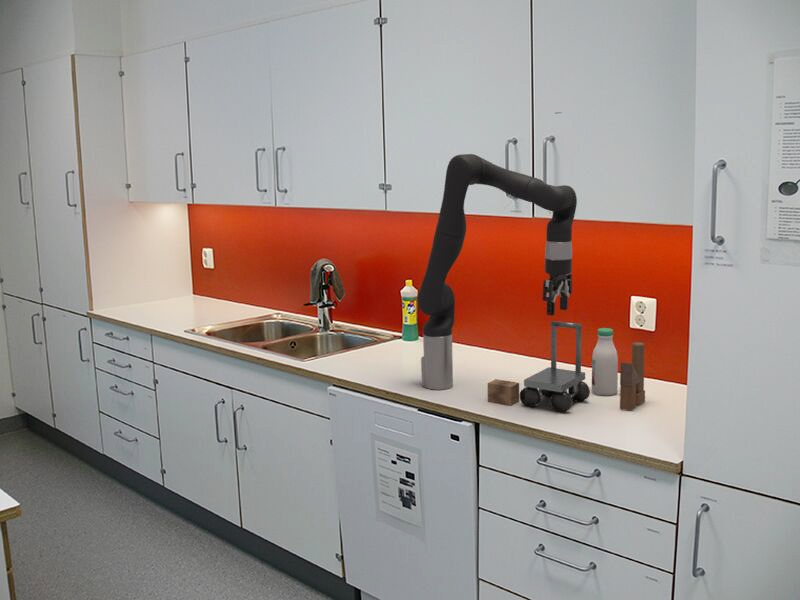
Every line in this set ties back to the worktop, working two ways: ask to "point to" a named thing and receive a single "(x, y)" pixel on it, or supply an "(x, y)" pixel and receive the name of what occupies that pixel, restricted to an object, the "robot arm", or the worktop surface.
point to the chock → (503, 392)
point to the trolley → (557, 378)
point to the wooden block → (633, 379)
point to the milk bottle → (605, 364)
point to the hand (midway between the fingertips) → (557, 312)
